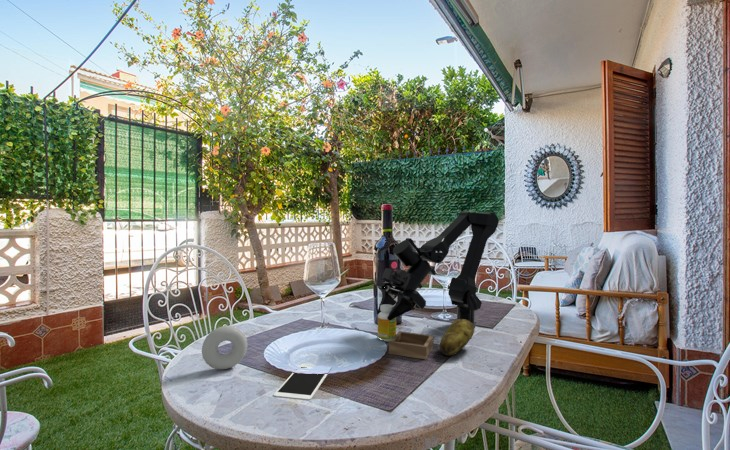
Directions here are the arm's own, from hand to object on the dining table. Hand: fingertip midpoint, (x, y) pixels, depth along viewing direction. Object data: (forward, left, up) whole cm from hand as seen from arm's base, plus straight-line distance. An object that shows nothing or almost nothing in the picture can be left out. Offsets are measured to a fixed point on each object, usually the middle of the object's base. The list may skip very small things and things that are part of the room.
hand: (383, 316), depth 107 cm
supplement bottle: (-1, +1, -7) cm, 7 cm away
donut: (+34, -27, -7) cm, 44 cm away
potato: (+1, +21, -7) cm, 22 cm away
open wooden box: (+5, +10, -7) cm, 13 cm away
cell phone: (+32, -7, -7) cm, 34 cm away
